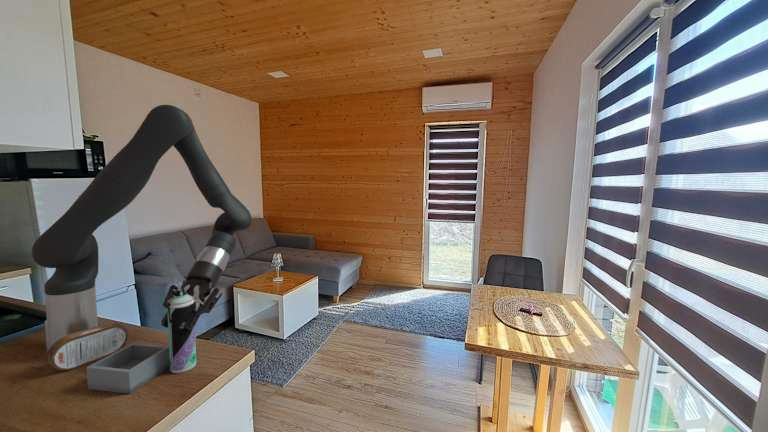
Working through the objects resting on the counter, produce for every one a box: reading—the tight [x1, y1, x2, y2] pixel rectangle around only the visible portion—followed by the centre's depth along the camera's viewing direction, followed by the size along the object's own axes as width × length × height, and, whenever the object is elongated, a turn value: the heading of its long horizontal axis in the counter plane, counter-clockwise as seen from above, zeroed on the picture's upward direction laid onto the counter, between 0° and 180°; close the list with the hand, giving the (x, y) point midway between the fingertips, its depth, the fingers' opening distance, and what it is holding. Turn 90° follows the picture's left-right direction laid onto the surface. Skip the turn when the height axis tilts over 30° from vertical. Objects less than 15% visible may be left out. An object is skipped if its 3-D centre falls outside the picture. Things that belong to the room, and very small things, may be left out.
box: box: [86, 342, 170, 395], centre depth 70 cm, size 11×11×5 cm
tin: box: [45, 322, 129, 371], centre depth 75 cm, size 15×3×8 cm, turn 152°
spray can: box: [166, 289, 197, 374], centre depth 73 cm, size 6×6×20 cm
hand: (176, 327), depth 71 cm, fingers closed on spray can, 5 cm apart
